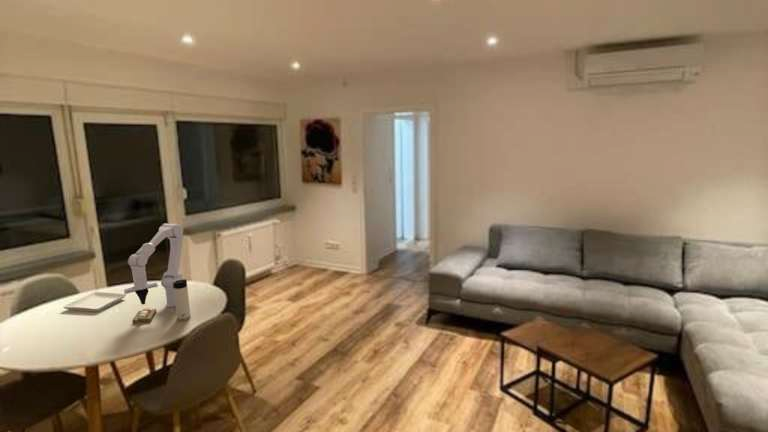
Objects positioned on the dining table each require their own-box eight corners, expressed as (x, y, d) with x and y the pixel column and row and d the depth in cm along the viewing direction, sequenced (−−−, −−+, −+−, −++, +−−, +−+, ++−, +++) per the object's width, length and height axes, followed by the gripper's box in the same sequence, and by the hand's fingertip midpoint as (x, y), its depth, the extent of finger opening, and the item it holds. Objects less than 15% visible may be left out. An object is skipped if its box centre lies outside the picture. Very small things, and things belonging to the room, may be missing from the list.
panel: (156, 312, 223) (155, 309, 223) (150, 322, 212) (150, 318, 211) (139, 314, 221) (138, 310, 220) (132, 324, 209) (132, 320, 209)
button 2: (150, 313, 221) (149, 307, 221) (149, 315, 219) (148, 309, 218) (144, 313, 221) (143, 308, 220) (142, 316, 218) (141, 310, 217)
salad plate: (98, 314, 222) (97, 308, 222) (62, 312, 226) (61, 306, 225) (128, 299, 243) (127, 293, 242) (95, 297, 246) (94, 291, 246)
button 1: (147, 319, 214) (146, 313, 214) (145, 321, 211) (144, 315, 211) (140, 319, 213) (139, 314, 213) (138, 322, 211) (138, 316, 210)
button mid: (148, 316, 218) (148, 310, 217) (147, 318, 215) (146, 312, 214) (142, 316, 217) (141, 311, 217) (140, 319, 214) (140, 313, 214)
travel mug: (185, 321, 212) (181, 282, 208) (174, 320, 213) (169, 282, 210) (193, 316, 218) (189, 278, 214) (182, 315, 219) (178, 277, 216)
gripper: (153, 272, 220) (156, 297, 222) (121, 279, 210) (124, 305, 213) (157, 276, 215) (160, 301, 217) (124, 283, 205) (128, 309, 208)
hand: (143, 303), depth 215 cm, fingers closed
